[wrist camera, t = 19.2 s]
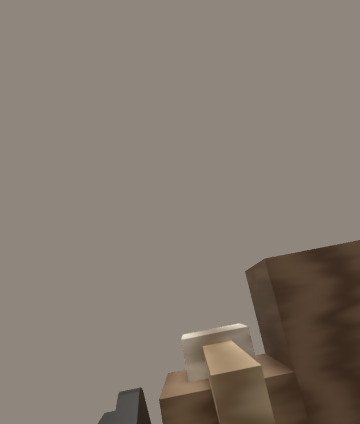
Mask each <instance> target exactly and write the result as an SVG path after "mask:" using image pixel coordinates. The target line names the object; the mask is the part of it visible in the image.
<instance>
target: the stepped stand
mask: <svg viewBox="0 0 360 424" xmlns="http://www.w3.org/2000/svg"><path fill="white" fill-rule="evenodd" d="M245 273H246V277H247V281H248V285H249V289H250V293H251V297H252V301H253V305H254V309H255V313H256V317H257V321H258V325H259V329H260V333H261V337H262V341H263V345H264V349H265V353H266V354H261V355H256V356H255V357H256V361H257V362H258V363H259V364H260V365H261V366H262V370H263V375H264V379H265V383H266V387H267V391H268V395H269V399H270V403H271V407H272V412H273V416H274V420H275V424H360V240H358V241H353V242H348V243H343V244H338V245H333V246H328V247H323V248H317V249H312V250H307V251H302V252H297V253H292V254H286V255H281V256H276V257H271V258H266V259H263V260H262V261H260V262H259V263H257V264H256V265H254V266H253V267H251V268H250V269H248V270H247V271H245ZM159 401H160V408H161V415H162V422H163V424H220V423H219V419H218V414H217V410H216V406H215V402H214V398H213V394H212V390H211V386H210V382H209V379H205V380H200V381H195V382H190V383H189V381H188V375H187V370H182V371H177V372H172V373H168V375H167V378H166V381H165V384H164V387H163V390H162V393H161V396H160V399H159Z"/></svg>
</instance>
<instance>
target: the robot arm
mask: <svg viewBox="0 0 360 424" xmlns="http://www.w3.org/2000/svg"><path fill="white" fill-rule="evenodd" d="M98 424H151V422H150V418H149V413H148V410H147V405H146V402H145V397H144V393H143V390H142V388H136V389H131V390H127V391H121V392H119V394H118V400H117V405H116V411H112V412H108V413H104V415H103V416H102V418H101V420H100V421H99V423H98Z"/></svg>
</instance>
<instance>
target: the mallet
mask: <svg viewBox="0 0 360 424" xmlns="http://www.w3.org/2000/svg"><path fill="white" fill-rule="evenodd" d="M181 341H182V346H183V352H184V358H185V364H186V369H187V375H188V381H189V383H190V382H195V381H200V380H205V379H209V382H210V386H211V390H212V394H213V398H214V402H215V406H216V410H217V414H218V419H219V423H220V424H275V420H274V416H273V412H272V407H271V403H270V399H269V395H268V391H267V387H266V383H265V379H264V375H263V370H262V366H261V365H260V364H259V363H258V362H257V361H256V357H255V353H254V349H253V345H252V340H251V336H250V333H249V328H248V326H246V325H242V324H235V325H229V326H224V327H219V328H214V329H209V330H204V331H199V332H194V333H189V334H184V335H183V336H182V339H181Z"/></svg>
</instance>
